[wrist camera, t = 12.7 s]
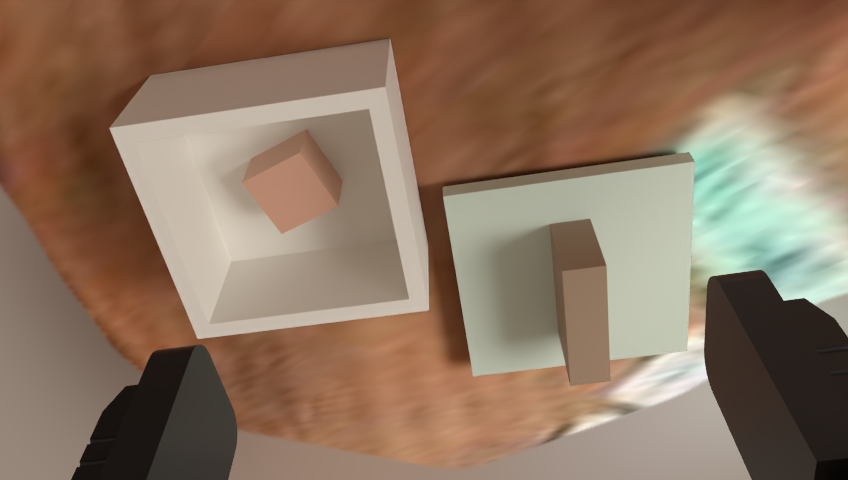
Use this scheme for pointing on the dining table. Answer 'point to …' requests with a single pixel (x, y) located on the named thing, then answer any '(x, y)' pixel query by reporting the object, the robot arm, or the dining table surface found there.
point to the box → (243, 217)
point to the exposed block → (293, 182)
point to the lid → (574, 265)
